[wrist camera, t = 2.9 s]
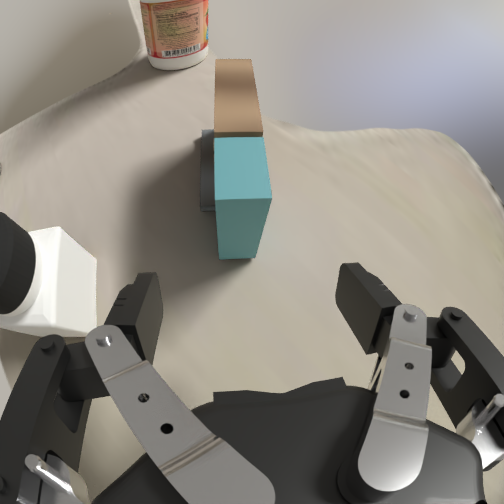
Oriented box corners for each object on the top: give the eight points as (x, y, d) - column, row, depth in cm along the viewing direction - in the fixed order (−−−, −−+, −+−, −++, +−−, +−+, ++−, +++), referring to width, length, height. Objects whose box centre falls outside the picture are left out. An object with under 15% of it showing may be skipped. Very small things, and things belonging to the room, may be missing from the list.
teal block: (255, 257, 23) (272, 198, 15) (219, 259, 23) (214, 199, 14) (250, 210, 25) (263, 137, 16) (217, 211, 25) (214, 137, 16)
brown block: (266, 208, 26) (286, 132, 16) (200, 211, 25) (189, 133, 16) (257, 135, 29) (268, 60, 20) (202, 136, 28) (197, 60, 19)
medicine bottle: (98, 257, 23) (24, 187, 11) (98, 336, 20) (4, 313, 9) (40, 264, 22) (-38, 209, 10) (38, 336, 19) (-55, 312, 8)
